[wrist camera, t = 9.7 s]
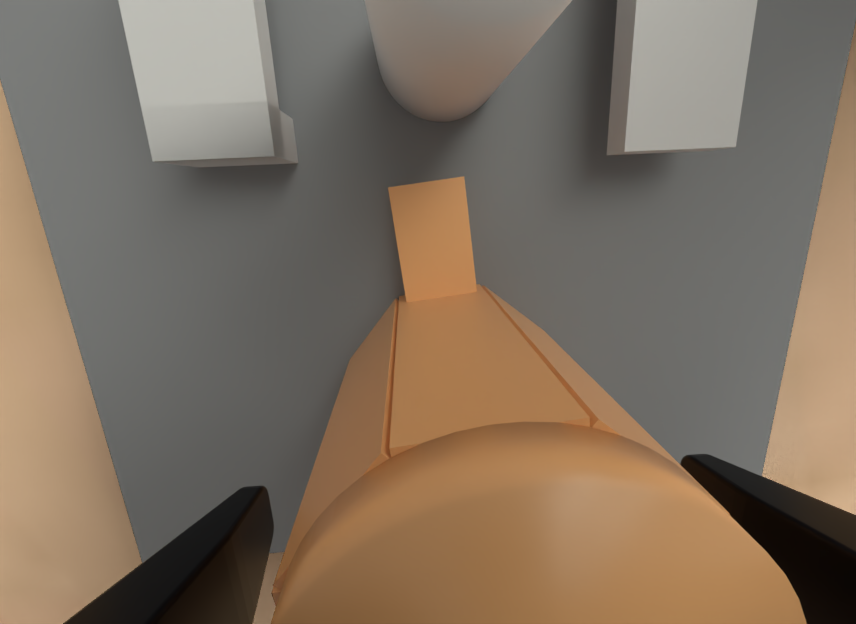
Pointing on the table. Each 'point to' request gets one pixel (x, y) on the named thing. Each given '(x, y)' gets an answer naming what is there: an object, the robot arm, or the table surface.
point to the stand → (408, 164)
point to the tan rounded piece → (500, 476)
